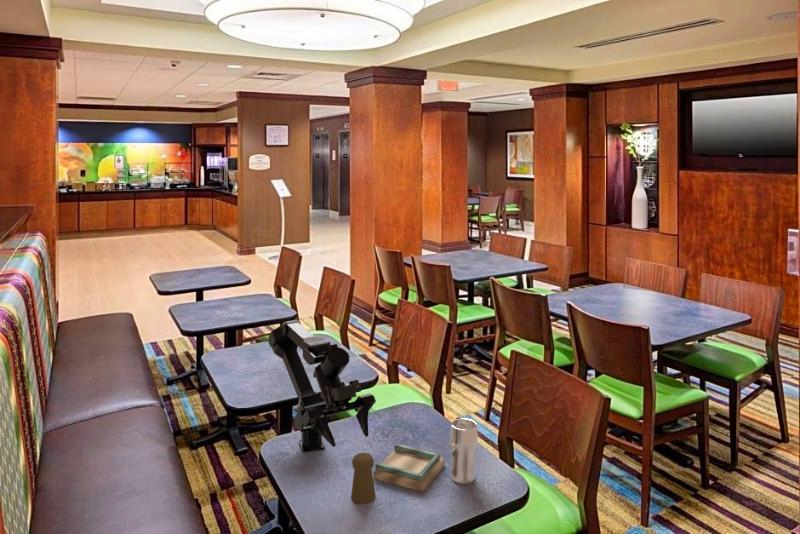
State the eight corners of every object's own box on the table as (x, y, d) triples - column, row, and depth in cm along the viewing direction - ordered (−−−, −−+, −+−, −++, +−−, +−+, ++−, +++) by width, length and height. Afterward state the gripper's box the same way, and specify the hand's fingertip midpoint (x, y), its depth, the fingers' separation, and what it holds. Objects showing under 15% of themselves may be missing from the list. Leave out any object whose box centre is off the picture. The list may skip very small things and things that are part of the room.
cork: (372, 505, 142) (372, 463, 140) (347, 502, 143) (347, 460, 141) (378, 491, 148) (378, 450, 145) (354, 488, 149) (354, 448, 147)
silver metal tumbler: (461, 467, 159) (462, 415, 156) (482, 477, 154) (483, 424, 151) (443, 477, 154) (444, 424, 151) (464, 488, 149) (466, 433, 146)
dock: (373, 478, 153) (373, 465, 153) (397, 453, 166) (397, 441, 165) (423, 492, 147) (423, 479, 147) (444, 465, 160) (444, 453, 159)
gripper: (305, 378, 144) (326, 439, 137) (372, 363, 154) (394, 419, 147) (293, 397, 152) (313, 455, 145) (358, 382, 162) (378, 436, 155)
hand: (351, 441), depth 148 cm, fingers open, 9 cm apart
